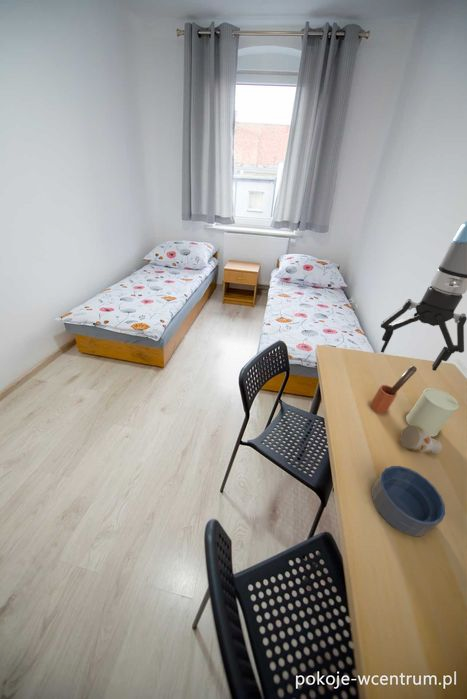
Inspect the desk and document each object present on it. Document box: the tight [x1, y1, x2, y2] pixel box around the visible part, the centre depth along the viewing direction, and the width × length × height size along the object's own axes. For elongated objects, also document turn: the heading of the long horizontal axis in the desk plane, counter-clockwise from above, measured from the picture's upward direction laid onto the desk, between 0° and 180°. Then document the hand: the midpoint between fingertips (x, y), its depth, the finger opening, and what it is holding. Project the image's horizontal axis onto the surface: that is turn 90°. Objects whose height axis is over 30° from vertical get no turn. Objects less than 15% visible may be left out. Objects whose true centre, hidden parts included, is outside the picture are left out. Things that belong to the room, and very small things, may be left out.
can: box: [405, 387, 460, 437], centre depth 84 cm, size 9×9×12 cm
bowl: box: [371, 465, 446, 537], centre depth 63 cm, size 13×13×6 cm
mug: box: [400, 425, 442, 455], centre depth 78 cm, size 8×10×10 cm
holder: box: [370, 384, 398, 415], centre depth 89 cm, size 5×5×8 cm
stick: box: [387, 365, 418, 395], centre depth 86 cm, size 2×2×19 cm
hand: (407, 359), depth 80 cm, fingers open, 13 cm apart
